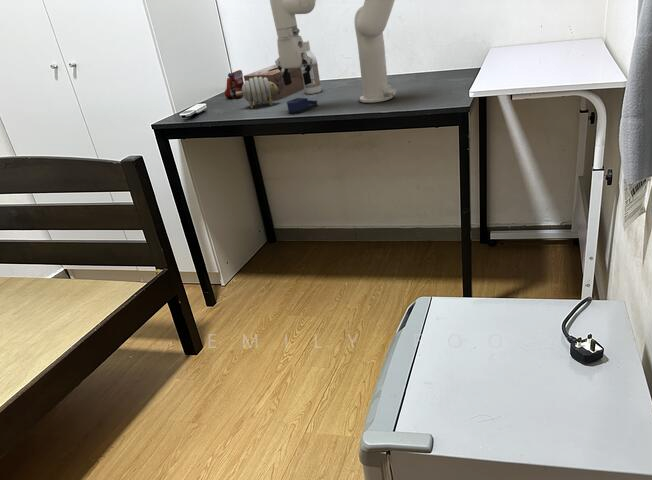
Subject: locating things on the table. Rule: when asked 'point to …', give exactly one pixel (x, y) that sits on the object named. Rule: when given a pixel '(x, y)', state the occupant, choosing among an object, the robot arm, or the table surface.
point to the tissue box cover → (280, 80)
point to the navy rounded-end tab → (300, 105)
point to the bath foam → (312, 73)
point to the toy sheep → (258, 91)
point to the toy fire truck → (234, 84)
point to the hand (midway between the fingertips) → (298, 84)
